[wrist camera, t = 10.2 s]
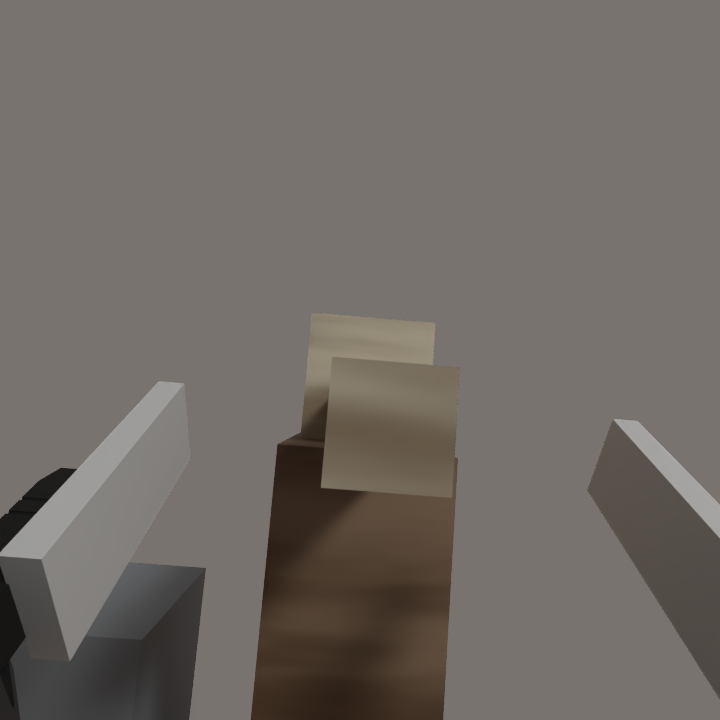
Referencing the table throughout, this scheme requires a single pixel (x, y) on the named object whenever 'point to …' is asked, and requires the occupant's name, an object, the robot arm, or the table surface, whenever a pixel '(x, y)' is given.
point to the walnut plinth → (352, 598)
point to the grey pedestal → (124, 654)
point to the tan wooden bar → (380, 406)
